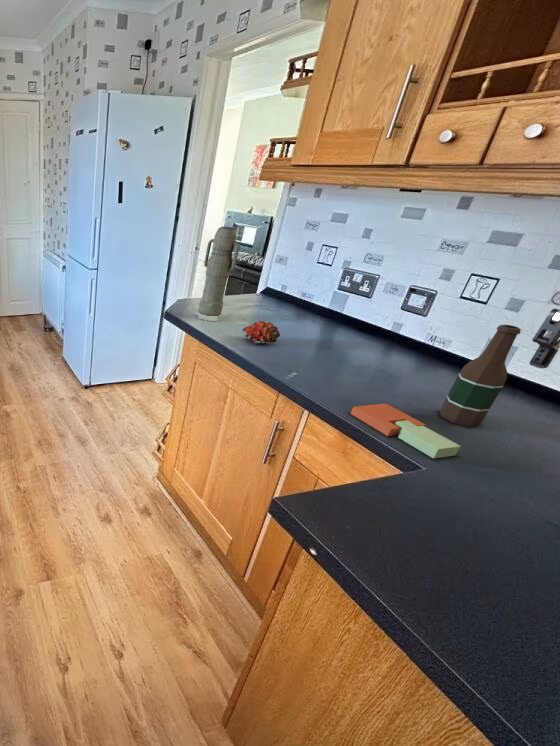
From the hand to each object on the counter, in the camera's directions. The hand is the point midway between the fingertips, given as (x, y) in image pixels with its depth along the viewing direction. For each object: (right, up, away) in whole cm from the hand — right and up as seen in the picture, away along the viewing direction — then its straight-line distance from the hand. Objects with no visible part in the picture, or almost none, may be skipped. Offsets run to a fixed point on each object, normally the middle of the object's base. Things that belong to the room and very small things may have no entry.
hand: (554, 365), depth 74 cm
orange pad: (-10, -13, +25) cm, 30 cm away
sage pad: (-9, -17, +18) cm, 26 cm away
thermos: (-26, +23, +95) cm, 101 cm away
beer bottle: (+10, -12, +27) cm, 31 cm away
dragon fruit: (-17, +11, +71) cm, 74 cm away
